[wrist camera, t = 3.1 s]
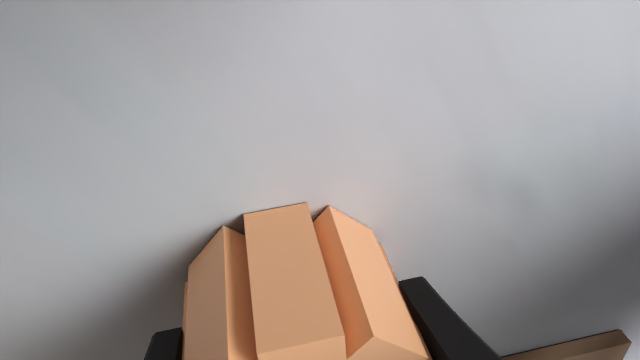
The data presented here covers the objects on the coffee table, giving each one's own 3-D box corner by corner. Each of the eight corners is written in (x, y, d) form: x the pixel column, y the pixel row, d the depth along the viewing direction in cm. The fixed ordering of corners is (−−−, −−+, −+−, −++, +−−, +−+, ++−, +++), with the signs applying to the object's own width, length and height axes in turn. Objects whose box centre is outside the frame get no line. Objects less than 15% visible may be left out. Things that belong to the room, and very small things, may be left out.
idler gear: (379, 188, 12) (444, 313, 9) (380, 321, 15) (428, 449, 12) (165, 229, 11) (147, 378, 8) (213, 358, 14) (214, 504, 11)
